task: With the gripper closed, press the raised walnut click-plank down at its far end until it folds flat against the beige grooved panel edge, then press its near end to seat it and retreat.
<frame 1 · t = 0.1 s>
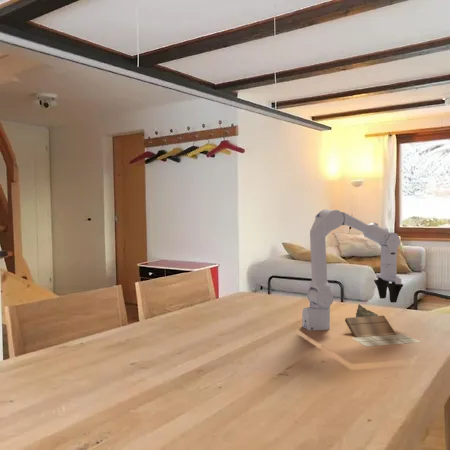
hand: (387, 300, 184), 10 cm above the table, fingers open, 7 cm apart
beige grooved panel: (385, 344, 162), on the table
rock: (368, 325, 187), on the table
plank: (370, 327, 171), point 3 cm above the table, hinge at 32.0°
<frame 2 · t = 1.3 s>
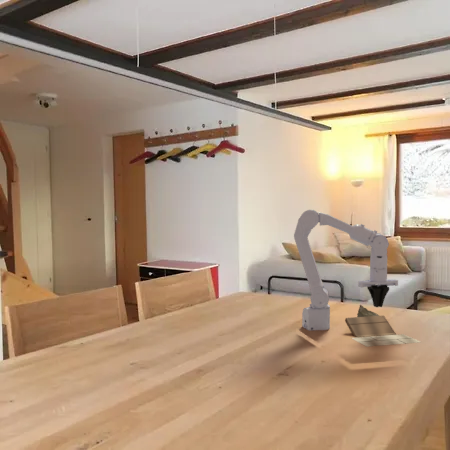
hand: (377, 306, 173), 10 cm above the table, fingers closed
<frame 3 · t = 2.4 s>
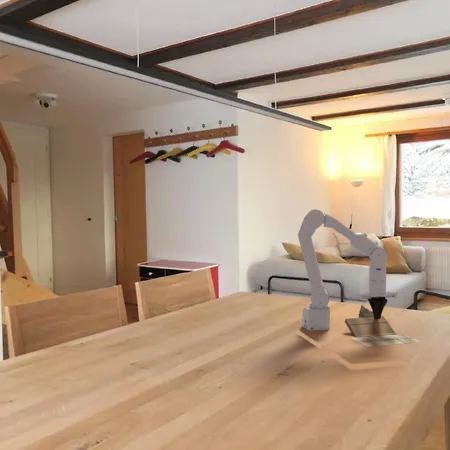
hand: (377, 318, 174), 6 cm above the table, fingers closed, pressing on plank
plank: (370, 327, 171), point 3 cm above the table, hinge at 29.6°, touching gripper
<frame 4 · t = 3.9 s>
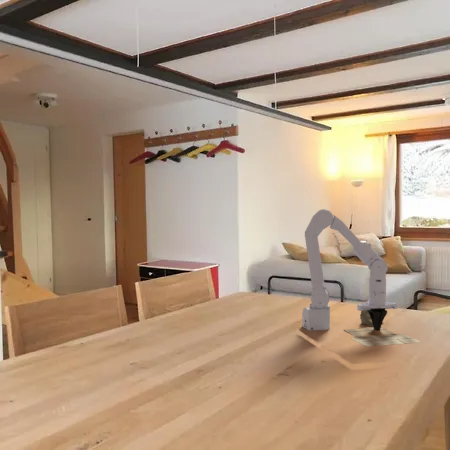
hand: (376, 329, 174), 2 cm above the table, fingers closed, pressing on plank
rock: (373, 327, 184), on the table
plank: (369, 333, 171), point 1 cm above the table, hinge at 1.6°, touching gripper
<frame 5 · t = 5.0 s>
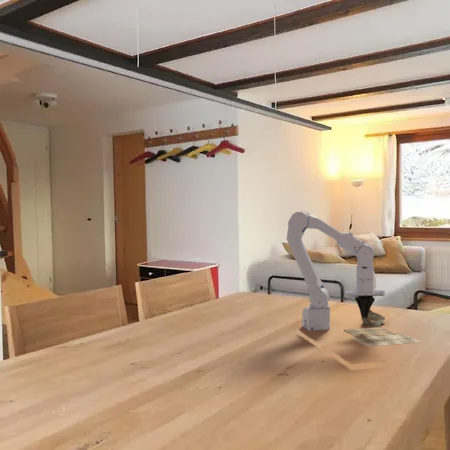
hand: (364, 317, 173), 6 cm above the table, fingers closed
plank: (369, 333, 171), point 1 cm above the table, hinge at 1.6°
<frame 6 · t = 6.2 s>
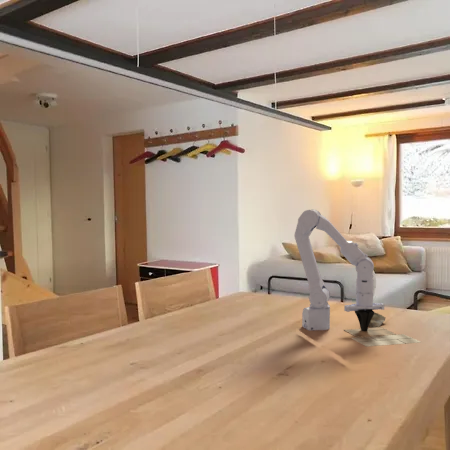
hand: (364, 330, 173), 2 cm above the table, fingers closed, pressing on plank
plank: (369, 333, 171), point 1 cm above the table, hinge at 1.3°, touching gripper
everything else where it was.
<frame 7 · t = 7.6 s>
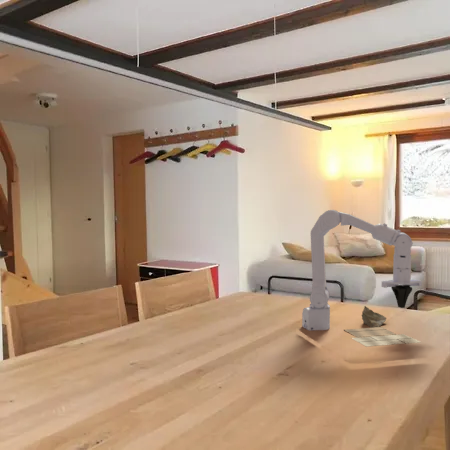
hand: (401, 307, 170), 10 cm above the table, fingers closed
plank: (369, 333, 171), point 1 cm above the table, hinge at 1.8°
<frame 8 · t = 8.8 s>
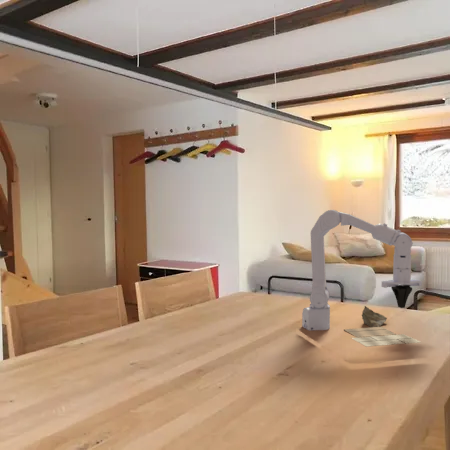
hand: (401, 307, 170), 10 cm above the table, fingers closed
plank: (369, 333, 171), point 1 cm above the table, hinge at 2.3°
at the end: plank at +2° (first picture: +32°) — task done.
